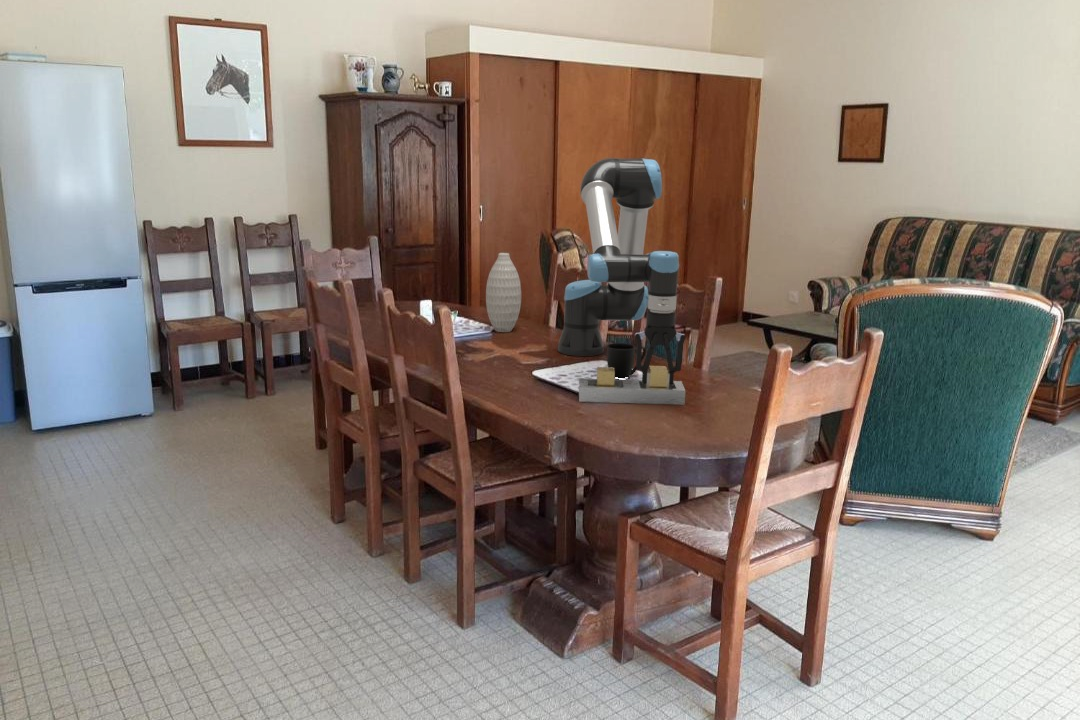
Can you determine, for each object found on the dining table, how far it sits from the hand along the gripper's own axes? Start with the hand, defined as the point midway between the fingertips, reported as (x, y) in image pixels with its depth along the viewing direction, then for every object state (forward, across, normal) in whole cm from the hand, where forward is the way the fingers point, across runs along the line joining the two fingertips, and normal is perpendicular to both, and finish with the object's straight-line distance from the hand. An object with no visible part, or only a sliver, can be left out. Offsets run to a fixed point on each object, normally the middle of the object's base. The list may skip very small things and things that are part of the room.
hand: (656, 395), depth 232 cm
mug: (+1, -7, +22) cm, 23 cm away
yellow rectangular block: (0, 0, 0) cm, 0 cm away
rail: (+1, -7, 0) cm, 7 cm away
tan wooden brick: (+1, -14, 0) cm, 14 cm away
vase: (+1, -48, +82) cm, 95 cm away
